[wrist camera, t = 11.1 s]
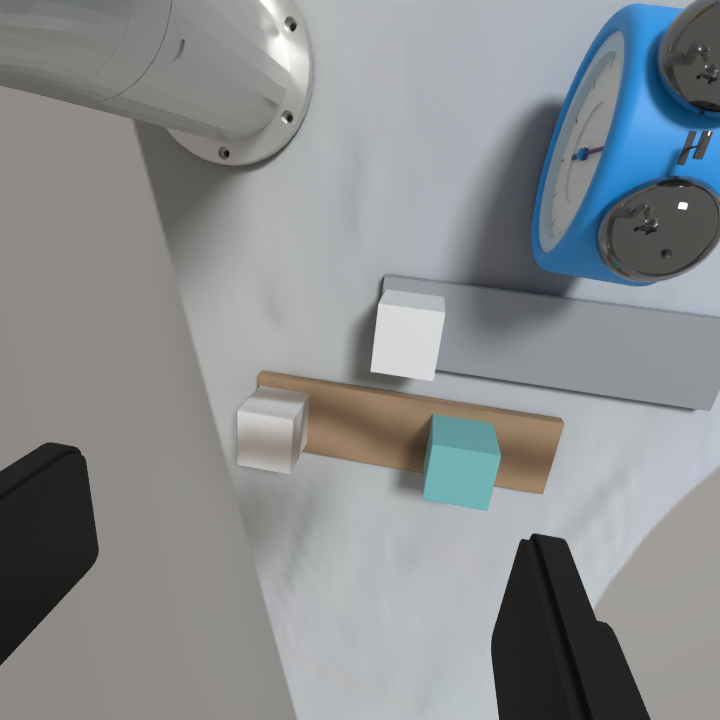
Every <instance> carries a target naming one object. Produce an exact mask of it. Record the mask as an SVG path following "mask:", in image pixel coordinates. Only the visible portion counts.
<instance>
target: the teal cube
mask: <svg viewBox="0 0 720 720" xmlns="http://www.w3.org/2000/svg"><path fill="white" fill-rule="evenodd" d="M500 459H501V453H500V449H499V445H498V441H497V437H496V433H495V430H494V426H493V423H487V422H481V421H475V420H469V419H463V418H456V417H450V416H444V415H438V414H433V416H432V422H431V427H430V433H429V439H428V444H427V450H426V455H425V461H424V475H423V499H425V500H430V501H436V502H441V503H446V504H452V505H457V506H463V507H468V508H473V509H479V510H484V511H487V510H488V506H489V502H490V498H491V494H492V490H493V486H494V482H495V479H496V475H497V471H498V467H499V463H500Z"/></svg>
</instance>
